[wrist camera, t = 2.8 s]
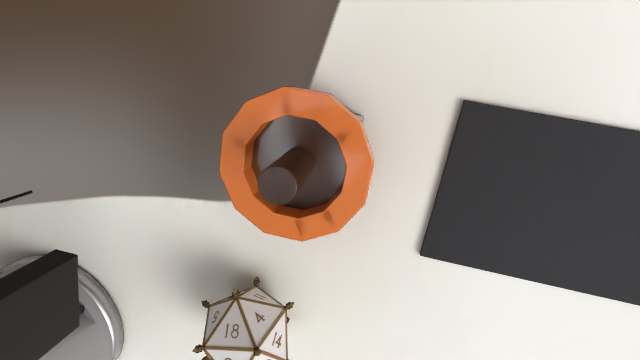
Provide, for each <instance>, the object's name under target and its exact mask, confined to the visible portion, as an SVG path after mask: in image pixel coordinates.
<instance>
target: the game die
mask: <svg viewBox="0 0 640 360" xmlns="http://www.w3.org/2000/svg"><path fill="white" fill-rule="evenodd" d="M259 282H260V281H259V279H258V277H257V278H256V279H255V280H254V286H253V287H251V288H248V289H246V290H244V291H241V292H239V293H238V290H235V289H234V290H233V292H232V293H231V294H232V296H230V297H228V298H225V299H223V300H221V301H218V302H216V303H214V304H211V305H210V304H209V302H207V300H206V301H202V305H203V306H204V307H205V308H208V313H207V319H206V326H205V332H204V339H203V345H199V346H197V345H196V347H195V348H194V350H193V352H196V353H199V352H202V350H204V352H205V354H206V355H207V356H206V357H204V358H203V359H202V360H288V351H287V323H288V322H289V318H288V317H287V309H290V308H292V307H293V305H294V302H289V303H288V304H286V306H283V305H282V304H281V303H279V302H278V301H276V300H275V299H274V298H272V297H271V296H269V295H268V294H267V293H265V292H264V291H263V290H261V289H260V288H258V284H259Z"/></svg>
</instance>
